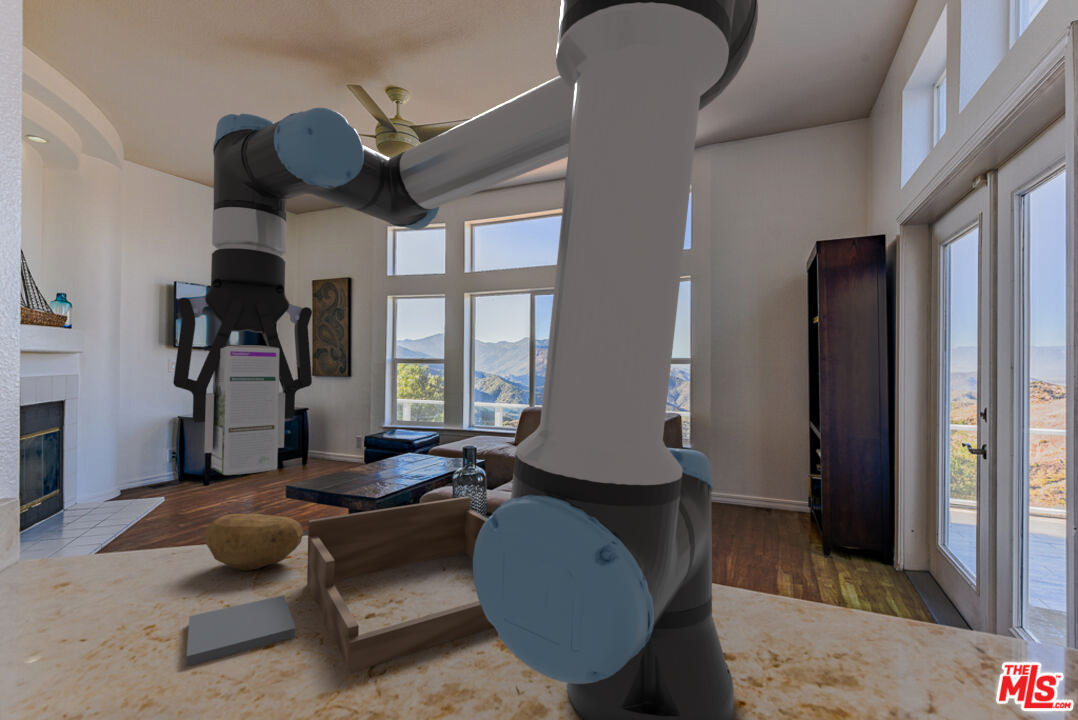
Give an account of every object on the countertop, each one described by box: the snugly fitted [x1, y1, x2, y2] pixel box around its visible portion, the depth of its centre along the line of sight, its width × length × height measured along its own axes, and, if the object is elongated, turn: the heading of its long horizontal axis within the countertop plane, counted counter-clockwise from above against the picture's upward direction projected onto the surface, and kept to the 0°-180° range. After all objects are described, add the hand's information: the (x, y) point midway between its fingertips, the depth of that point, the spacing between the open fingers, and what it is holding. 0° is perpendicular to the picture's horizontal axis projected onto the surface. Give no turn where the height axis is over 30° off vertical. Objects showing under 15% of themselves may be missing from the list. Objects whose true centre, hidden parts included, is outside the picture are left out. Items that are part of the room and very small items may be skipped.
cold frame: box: [306, 496, 495, 674], centre depth 66 cm, size 25×25×9 cm
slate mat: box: [186, 594, 296, 667], centre depth 57 cm, size 10×10×1 cm
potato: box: [204, 513, 304, 571], centre depth 76 cm, size 10×14×8 cm
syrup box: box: [210, 344, 280, 476], centre depth 57 cm, size 6×6×14 cm
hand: (244, 448), depth 57 cm, fingers closed on syrup box, 6 cm apart
